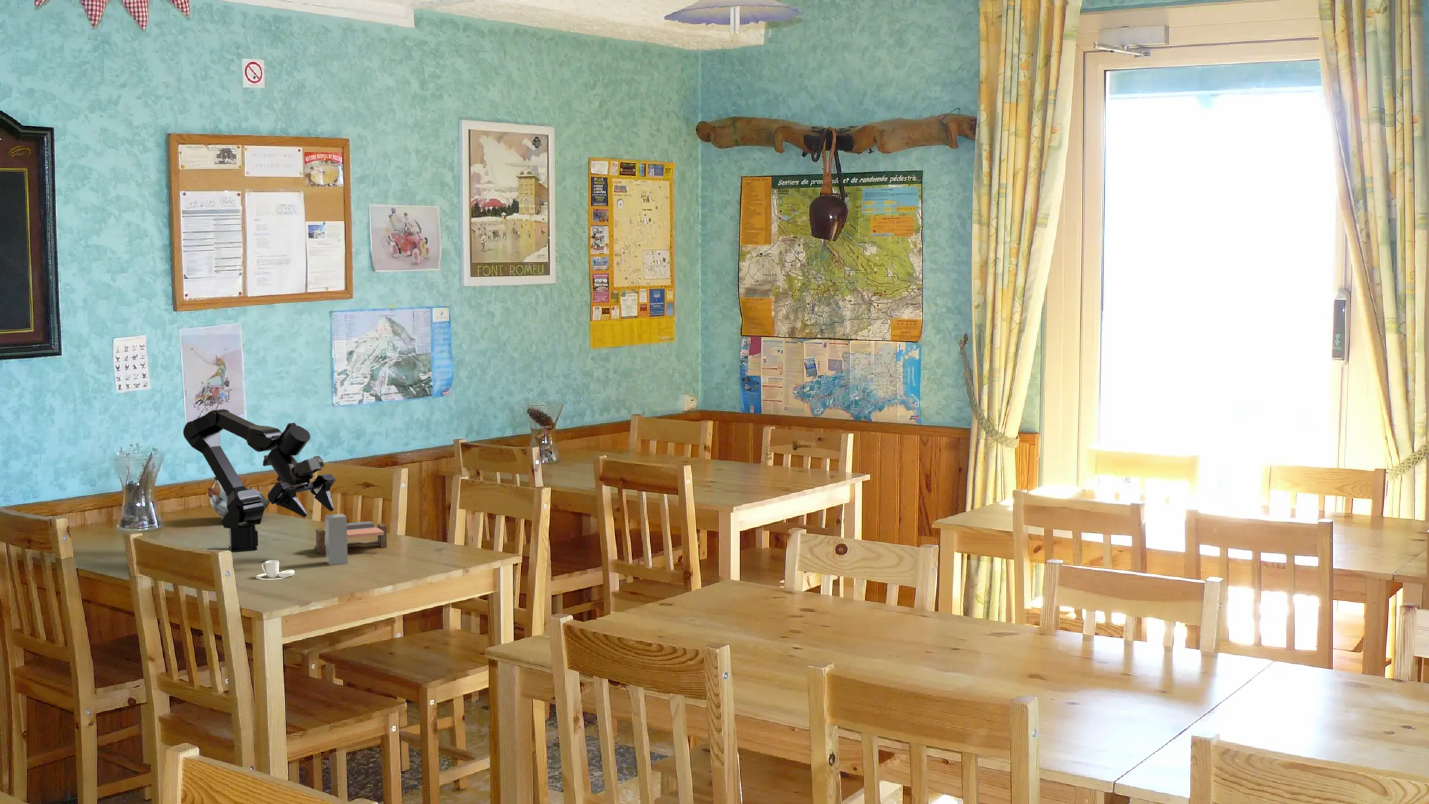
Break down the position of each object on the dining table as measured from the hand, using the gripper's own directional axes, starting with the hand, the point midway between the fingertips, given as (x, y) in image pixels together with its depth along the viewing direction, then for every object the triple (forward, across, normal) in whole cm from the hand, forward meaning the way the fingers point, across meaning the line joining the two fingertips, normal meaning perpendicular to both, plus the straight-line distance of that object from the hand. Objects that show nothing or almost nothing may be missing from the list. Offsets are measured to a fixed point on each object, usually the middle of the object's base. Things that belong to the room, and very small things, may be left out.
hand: (319, 513), depth 342 cm
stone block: (+12, 0, +5) cm, 13 cm away
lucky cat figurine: (-35, +28, +52) cm, 69 cm away
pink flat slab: (+5, +14, +8) cm, 16 cm away
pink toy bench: (+5, +15, +12) cm, 20 cm away
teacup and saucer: (+13, -21, +5) cm, 25 cm away
